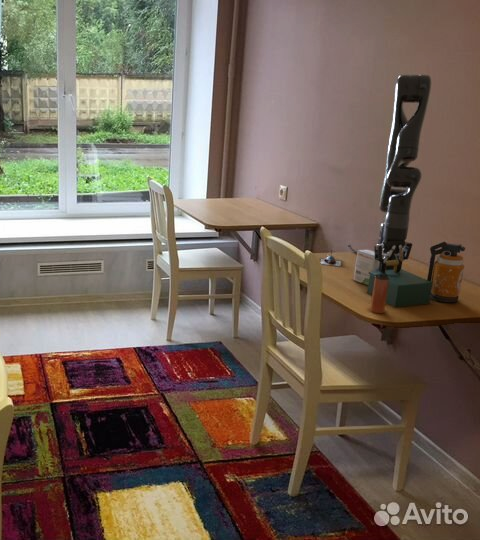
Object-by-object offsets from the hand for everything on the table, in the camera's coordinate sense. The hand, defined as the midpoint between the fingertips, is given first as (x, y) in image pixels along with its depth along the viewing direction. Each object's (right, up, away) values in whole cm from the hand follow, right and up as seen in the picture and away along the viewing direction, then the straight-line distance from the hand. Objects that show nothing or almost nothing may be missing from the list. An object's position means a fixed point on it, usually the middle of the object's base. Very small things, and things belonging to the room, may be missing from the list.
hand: (389, 271), depth 213 cm
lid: (+1, -3, -5) cm, 5 cm away
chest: (+1, -9, -3) cm, 10 cm away
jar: (-11, -13, -15) cm, 23 cm away
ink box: (-3, -4, +13) cm, 14 cm away
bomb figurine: (-8, +3, +37) cm, 38 cm away
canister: (+16, -10, -3) cm, 19 cm away
